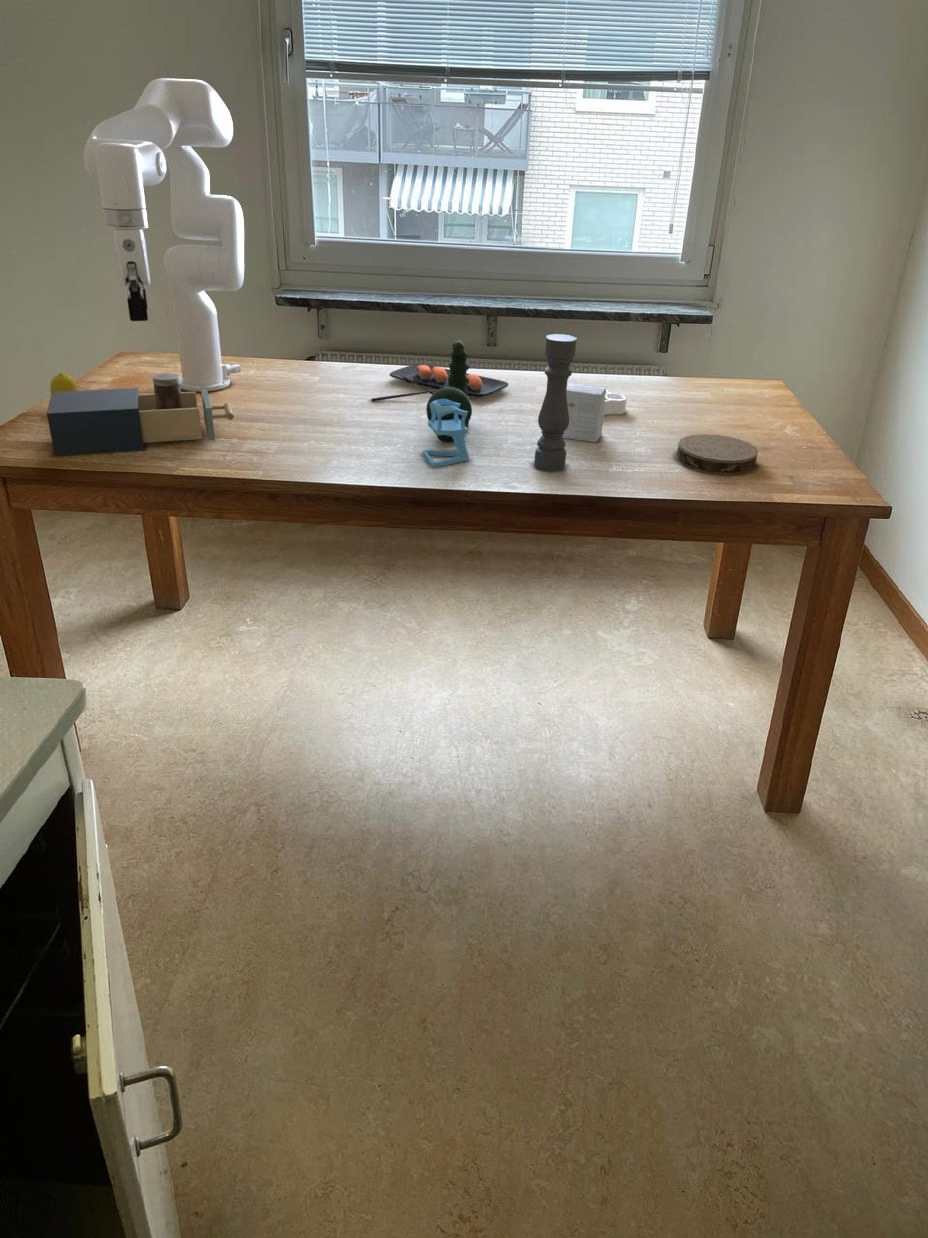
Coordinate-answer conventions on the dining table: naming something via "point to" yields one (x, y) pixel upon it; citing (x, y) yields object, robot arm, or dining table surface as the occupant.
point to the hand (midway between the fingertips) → (139, 315)
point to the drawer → (178, 418)
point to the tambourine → (716, 454)
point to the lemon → (63, 383)
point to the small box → (585, 412)
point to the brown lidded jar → (167, 391)
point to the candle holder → (555, 403)
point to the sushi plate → (442, 381)
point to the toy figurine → (454, 388)
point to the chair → (448, 432)
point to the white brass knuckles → (614, 403)
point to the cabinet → (95, 421)
